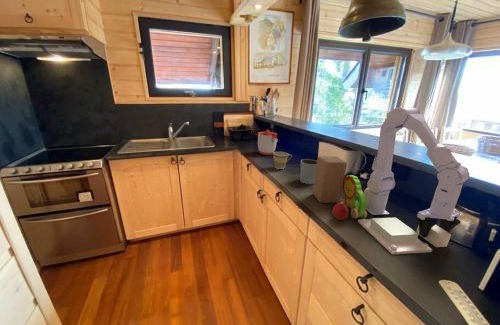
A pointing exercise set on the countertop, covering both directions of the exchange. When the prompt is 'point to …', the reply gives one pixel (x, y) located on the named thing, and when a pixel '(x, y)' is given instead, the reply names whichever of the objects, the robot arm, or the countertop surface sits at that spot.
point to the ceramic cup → (280, 159)
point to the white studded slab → (395, 235)
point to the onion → (340, 211)
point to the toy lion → (354, 196)
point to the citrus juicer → (267, 142)
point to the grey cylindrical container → (308, 171)
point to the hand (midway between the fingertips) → (432, 235)
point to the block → (329, 179)
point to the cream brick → (437, 236)
